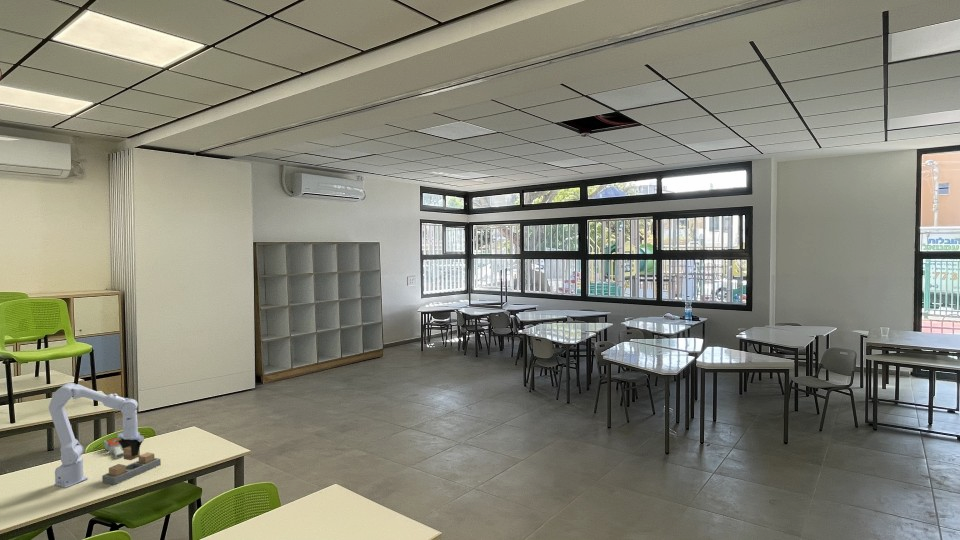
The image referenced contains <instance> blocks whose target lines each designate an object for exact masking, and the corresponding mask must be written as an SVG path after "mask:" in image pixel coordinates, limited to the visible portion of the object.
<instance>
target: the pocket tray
mask: <svg viewBox="0 0 960 540" xmlns="http://www.w3.org/2000/svg"><path fill="white" fill-rule="evenodd" d="M161 460H162V459H161V458H157V457H155V453H152V452H145V453H142V454H140V457H138V460H136V461H134V462H132V463H129V464H127V465H125V464H120V463H118V464H116V465H112V466H111V467H108V473H104V474H103V475H102V483H105V484H109V485H113V486H116V485H118V484H120V483H122V482H125V481H127V480H130V479H132V478H134V477H136V476H139V475H141V474H143V473H145V471H146V472H148V471H150V470H153V469H154V467H155V468H157V467H159V466H161V463H162V462H161ZM156 466H157V467H156ZM147 470H148V471H147ZM142 472H143V473H142ZM140 473H141V474H140Z"/></svg>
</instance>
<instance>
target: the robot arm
mask: <svg viewBox="0 0 960 540" xmlns="http://www.w3.org/2000/svg"><path fill="white" fill-rule="evenodd" d="M80 398H85V399H90V400H93V401H97V402H101V403H102V404H103V406H104V407H107V408H109V409H113V410H116V411H120V413H122V432H120V433H117V438H121V439H118V442H119V443H120V445H121V446H122V448H126V447H129V446H130V447H131V450H132V456H136V455H138V452H139V448H141V445H142V443H143V442H144V441H145V436H144V435H141V432H140V431H138V430H139V427H138V426H139V425H138V423H139V422H138V421H139V420H138V410H137V408H138V405H139V403H138V401H137V400H136V399H134V398H129V397H122V396H119V395H118V393H110V394H104V393H102V392H99V391H96V390H94V389H91V388H90V387H86V386H84V385H82V384H79V383H77V384H76V383H74V382H66V383H64V384H63V385H62V386H60V388H57V390H56V391H54V393H53V394H52V397H51V400H50V402H49V405H48V411H49V413H50V416H51V419H52V423H53V426H54V428H55V431H56V434H57V436H58V440H59V442H60V454H61V456H60V462H61V465H59V466H58V467H55V469H54V482H55V483H54V485H53V486H56V487H61V488H65V489H66V488H69V487H71V486H73V485H74V486H75V485H76V484H78V483H81V482H84V481H86V480H88V479H89V477H87V476H84V463H83V462H84V461H83V460H84V459H83V457H82V455H83V454H84V449H85V448H84V446H83V445H81V444H80V442H79V440H78V439H77V438H75V434H74V432H73V428H72V425H71V423H70V419H69V417H68V414H67V410H66V407H65V405H66V404H67V403H68V401H69V400H71V399H73V400H75V399H80ZM132 440H133V441H132Z"/></svg>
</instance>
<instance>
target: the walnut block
mask: <svg viewBox="0 0 960 540" xmlns="http://www.w3.org/2000/svg"><path fill="white" fill-rule="evenodd" d="M140 448H141V447H140ZM140 448H139V452H138V455H136V456H132V450H131V447H130V446H129V447H126V448H123V451H122V452H123V456H124V457H123V460H126V461H133V460H134V459H139V457H140V455H141V453H140Z"/></svg>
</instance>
